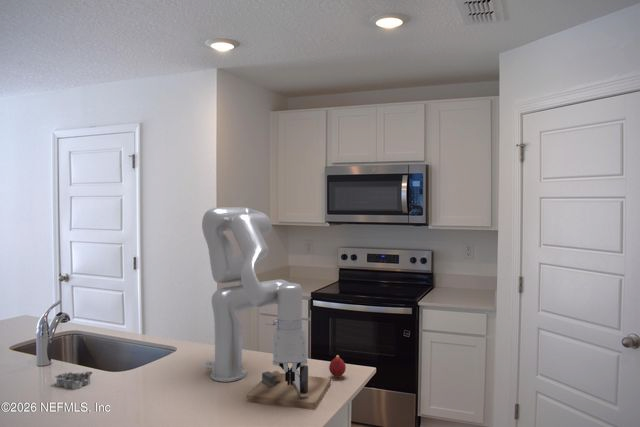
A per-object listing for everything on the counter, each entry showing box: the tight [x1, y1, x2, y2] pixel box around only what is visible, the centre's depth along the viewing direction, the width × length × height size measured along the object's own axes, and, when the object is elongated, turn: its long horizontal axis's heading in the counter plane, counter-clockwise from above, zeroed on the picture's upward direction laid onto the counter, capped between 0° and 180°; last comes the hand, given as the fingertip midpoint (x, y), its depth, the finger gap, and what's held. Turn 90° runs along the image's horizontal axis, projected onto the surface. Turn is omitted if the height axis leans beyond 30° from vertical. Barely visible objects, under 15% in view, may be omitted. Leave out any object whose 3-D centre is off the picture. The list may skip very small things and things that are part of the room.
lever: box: [289, 364, 309, 398], centre depth 152 cm, size 20×4×9 cm, turn 15°
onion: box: [328, 354, 347, 379], centre depth 164 cm, size 6×6×8 cm
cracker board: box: [246, 370, 332, 410], centre depth 152 cm, size 22×20×6 cm
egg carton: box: [54, 371, 93, 390], centre depth 158 cm, size 11×8×4 cm
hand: (290, 383), depth 143 cm, fingers closed
